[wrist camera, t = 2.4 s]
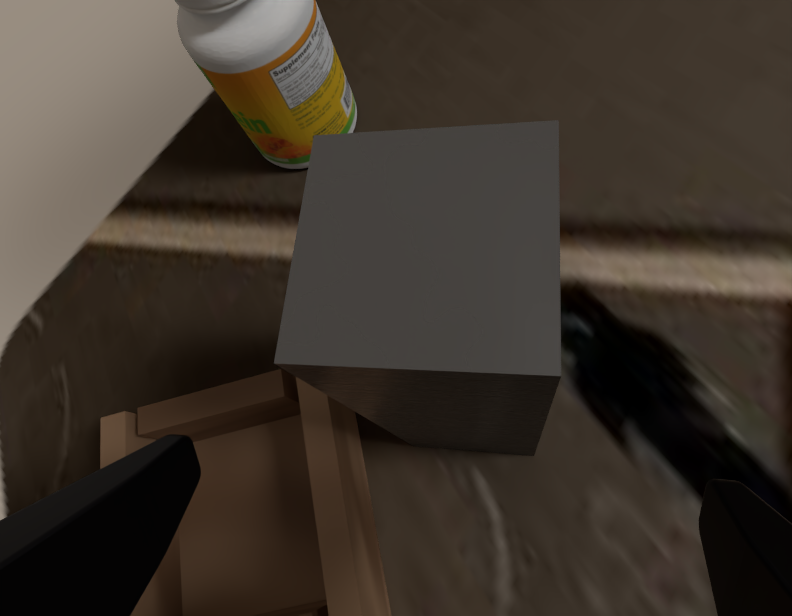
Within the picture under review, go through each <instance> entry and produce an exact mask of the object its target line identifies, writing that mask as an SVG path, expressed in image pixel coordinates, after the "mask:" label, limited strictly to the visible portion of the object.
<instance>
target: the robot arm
mask: <svg viewBox="0 0 792 616" xmlns="http://www.w3.org/2000/svg"><path fill="white" fill-rule="evenodd" d="M200 477H201V467H200V464H199V460H198V457H197V454H196V450H195V447H194V444H193V441H192V439H191V438H190V437H189V436H187V435H177V434H169V435H166V436H164V437H162V438H160V439H158V440H156V441H154V442H152V443H150V444H148V445H146V446H144V447H142V448H140V449H138V450H137V451H135V452H133V453H131V454H129V455H127V456H125V457H123V458H121V459H119V460H117V461H115V462H113V463H111V464H109V465H107V466H105V467H103V468H102V469H100V470H98V471H96V472H94V473H92V474H90V475H88V476H86V477H84V478H82V479H80V480H78V481H76V482H74V483H72V484H70V485H68V486H67V487H65V488H63V489H61V490H59V491H57V492H55V493H53V494H51V495H49V496H47V497H45V498H43V499H41V500H39V501H37V502H35V503H33V504H32V505H30V506H28V507H26V508H24V509H22V510H20V511H18V512H16V513H14V514H12V515H10V516H8V517H6V518H4V519H2V520H0V616H130V615H131V614H132V612H133V610H134V608H135V607H136V605H137V603H138V602H139V600H140V598H141V596H142V595H143V593H144V591H145V589H146V588H147V586H148V584H149V582H150V581H151V579H152V577H153V576H154V574H155V572H156V570H157V569H158V567H159V565H160V563H161V561H162V560H163V558H164V556H165V554H166V552H167V550H168V548H169V546H170V544H171V542H172V540H173V538H174V535H175V533H176V531H177V529H178V527H179V524H180V522H181V520H182V518H183V516H184V514H185V511H186V509H187V507H188V505H189V503H190V501H191V498H192V496H193V494H194V492H195V490H196V488H197V485H198V483H199V480H200ZM699 532H700V537H701V541H702V546H703V550H704V555H705V560H706V564H707V569H708V573H709V578H710V582H711V587H712V591H713V596H714V600H715V605H716V609H717V614H718V616H792V524H791V523H790V522H789V521H787V520H786V519H785V518H784V517H783V516H781V515H780V514H779V513H778V512H776V511H775V510H774V509H773V508H772V507H770V506H769V505H768V504H767V503H766V502H764V501H763V500H762V499H761V498H759V497H758V496H757V495H756V494H755V493H753V492H752V491H751V490H750V489H749V488H747V487H746V486H745V485H744V484H742V483H740V482H738V481H734V480H722V479H711V480H709V481H708V483H707V485H706V488H705V493H704V497H703V502H702V507H701V511H700V516H699Z"/></svg>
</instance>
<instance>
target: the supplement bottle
mask: <svg viewBox="0 0 792 616" xmlns="http://www.w3.org/2000/svg"><path fill="white" fill-rule="evenodd" d="M175 2H176V3H177V4H178V5H179V10H178V18H177V25H178V32H179V35H180V38H181V41H182V43H183V45H184V47H185V48H186V50H187V52H188V53H189V55H190V56H191V57H192V59H193V60H194V62H195V63H196V64H197V66H198V67H199V69H200V70H201V71H202V73H203V74H204V76H205V77H206V78H207V80H208V81H209V82H210V83H211V85H212V87H213V88H214V89H215V91H216V92H217V93H218V95H219V96H220V98H221V99H222V100H223V102H224V103H225V104H226V106H227V107H228V109H229V110H230V111H231V113H232V114H233V116H234V117H235V118H236V120H237V121H238V123H239V124H240V125H241V127H242V128H243V130H244V131H245V132H246V134H247V135H248V137H249V138H250V139H251V141H252V142H253V144H254V145H255V146H256V148H257V149H258V150H259V151H260V153H261V154H262V155H263V156H264V157H265V158H266V159H267V160H268V161H270V162H271V163H273V164H275V165H277V166H280V167H284V168H289V169H303V168H308V166H309V161H310V155H311V149H312V144H313V138H314V135H328V134H345V133H353V130H354V128H355V124H356V120H357V108H356V103H355V100H354V97H353V94H352V91H351V88H350V86H349V83H348V81H347V78H346V76H345V73H344V71H343V68H342V66H341V63H340V61H339V58H338V56H337V53H336V51H335V48H334V46H333V43H332V41H331V38H330V36H329V34H328V31H327V29H326V26H325V23H324V21H323V18H322V16H321V13H320V11H319V8H318V6H317V3H316V1H315V0H175Z"/></svg>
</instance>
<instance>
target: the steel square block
mask: <svg viewBox="0 0 792 616" xmlns="http://www.w3.org/2000/svg"><path fill="white" fill-rule="evenodd" d="M274 364H276V365H277V366H279V367H281V368H282V369H284V370H286V371H287V372H289V373H291V374H292V375H294V376H296V377H298V378H299V379H301V380H303V381H304V382H306V383H308V384H309V385H311V386H313V387H314V388H316V389H318V390H319V391H321V392H323V393H325V394H326V395H328V396H330V397H331V398H333V399H335V400H336V401H338V402H340V403H341V404H343V405H345V406H346V407H348V408H350V409H351V410H353V411H355V412H357V413H358V414H360V415H362V416H363V417H365V418H367V419H368V420H370V421H372V422H373V423H375V424H377V425H378V426H380V427H382V428H384V429H385V430H387V431H389V432H390V433H392V434H394V435H395V436H397V437H399V438H400V439H402V440H404V441H405V442H407V443H409V444H411V445H412V446H417V447H430V448H443V449H456V450H469V451H481V452H494V453H507V454H520V455H533V456H534V454H535V451H536V448H537V445H538V443H539V440H540V437H541V434H542V431H543V428H544V425H545V422H546V419H547V416H548V413H549V410H550V407H551V404H552V401H553V398H554V395H555V392H556V389H557V387H558V384H559V381H560V378H561V325H560V223H559V121H558V120H556V121H539V122H523V123H507V124H491V125H474V126H458V127H442V128H426V129H409V130H393V131H377V132H361V133H345V134H328V135H314V138H313V144H312V149H311V155H310V161H309V166H308V172H307V178H306V183H305V189H304V195H303V200H302V206H301V212H300V217H299V223H298V229H297V235H296V240H295V246H294V252H293V257H292V263H291V269H290V274H289V280H288V286H287V291H286V297H285V303H284V308H283V314H282V320H281V325H280V331H279V337H278V343H277V348H276V354H275V360H274Z"/></svg>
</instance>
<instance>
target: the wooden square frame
mask: <svg viewBox="0 0 792 616" xmlns="http://www.w3.org/2000/svg"><path fill="white" fill-rule="evenodd" d="M137 410H138V414H135V413H131V412H127V411H124V412H120V413H117V414H113V415H109V416H106V417H102V418H101V444H100V469H102V468H103V467H105V466H107V465H109V464H111V463H113V462H115V461H117V460H119V459H121V458H123V457H125V456H127V455H129V454H131V453H133V452H135V451H137V450H138V449H140V448H142V447H144V446H146V445H148V444H150V443H152V442H154V441H156V440H158V439H160V438H162V437H164V436H166V435H169V434H177V435H187V436H189V437H190V438H191V439H192V441H193V444H194V447H195V450H196V454H197V457H198V460H199V464H200V467H201V477H200V480H199V483H198V485H197V488H196V490H195V492H194V494H193V496H192V498H191V501H190V503H189V505H188V507H187V509H186V511H185V514H184V516H183V518H182V520H181V522H180V524H179V527H178V529H177V531H176V533H175V535H174V538H173V540H172V542H171V544H170V546H169V548H168V550H167V552H166V554H165V556H164V558H163V560H162V561H161V563H160V565H159V567H158V569H157V570H156V572H155V574H154V576H153V577H152V579H151V581H150V582H149V584H148V586H147V588H146V589H145V591H144V593H143V595H142V596H141V598H140V600H139V602H138V603H137V605H136V607H135V608H134V610H133V612H132V614H131V615H130V616H391V611H390V605H389V600H388V594H387V588H386V583H385V577H384V571H383V566H382V560H381V555H380V549H379V543H378V538H377V532H376V526H375V521H374V515H373V509H372V504H371V498H370V492H369V487H368V481H367V475H366V470H365V464H364V458H363V453H362V447H361V442H360V436H359V430H358V425H357V419H356V413H355V411H353V410H351V409H350V408H348V407H346V406H345V405H343V404H341V403H340V402H338V401H336V400H335V399H333V398H331V397H330V396H328V395H326V394H325V393H323V392H321V391H319V390H318V389H316V388H314V387H313V386H311V385H309V384H308V383H306V382H304V381H303V380H301V379H299V378H298V377H294V376H293V375H291V374H289V373H287V372H286V371H284V370H282V369H278V370H275V371H271V372H267V373H264V374H260V375H256V376H252V377H249V378H245V379H241V380H238V381H234V382H230V383H227V384H223V385H219V386H216V387H212V388H208V389H205V390H201V391H197V392H194V393H190V394H186V395H183V396H179V397H175V398H172V399H168V400H164V401H161V402H157V403H153V404H150V405H146V406H142V407H139V408H137Z"/></svg>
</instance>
